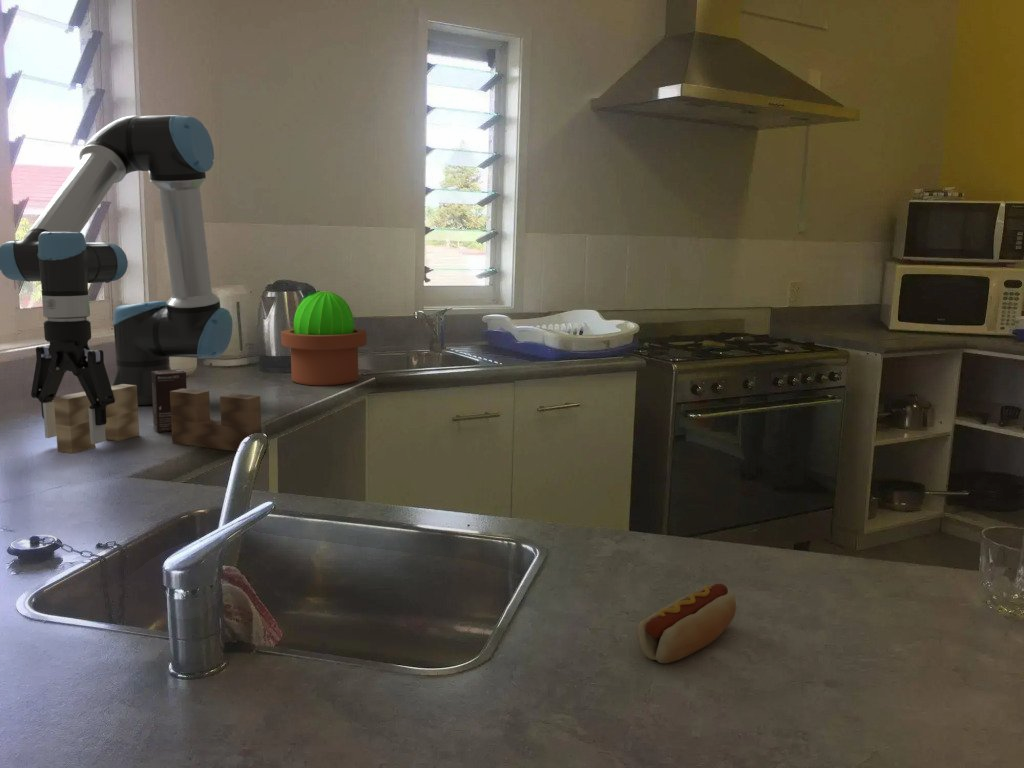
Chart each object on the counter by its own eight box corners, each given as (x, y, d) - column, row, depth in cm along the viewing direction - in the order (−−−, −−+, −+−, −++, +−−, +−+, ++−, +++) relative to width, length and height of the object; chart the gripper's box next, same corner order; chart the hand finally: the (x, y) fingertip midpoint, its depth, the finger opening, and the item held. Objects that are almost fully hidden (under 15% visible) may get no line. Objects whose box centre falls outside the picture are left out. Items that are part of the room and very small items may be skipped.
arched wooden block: (71, 453, 159) (68, 399, 157) (57, 451, 160) (53, 397, 158) (139, 435, 173) (136, 385, 172) (125, 433, 175) (122, 384, 173)
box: (158, 433, 175) (155, 373, 173) (153, 429, 179) (150, 370, 177) (189, 430, 179) (186, 371, 177) (184, 425, 182) (181, 368, 180)
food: (674, 678, 82) (676, 628, 81) (625, 658, 85) (626, 610, 85) (745, 630, 92) (748, 585, 91) (698, 614, 96) (701, 571, 95)
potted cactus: (382, 381, 241) (381, 289, 237) (316, 390, 225) (314, 292, 221) (333, 371, 255) (331, 285, 251) (267, 380, 239) (264, 288, 235)
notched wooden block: (172, 442, 168) (169, 391, 166) (185, 439, 171) (183, 388, 169) (249, 452, 161) (247, 399, 159) (261, 448, 164) (260, 396, 163)
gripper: (2, 317, 158) (12, 437, 162) (98, 324, 150) (106, 450, 154) (38, 314, 165) (46, 429, 169) (132, 320, 157) (139, 441, 161)
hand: (75, 439), depth 161 cm, fingers open, 10 cm apart
